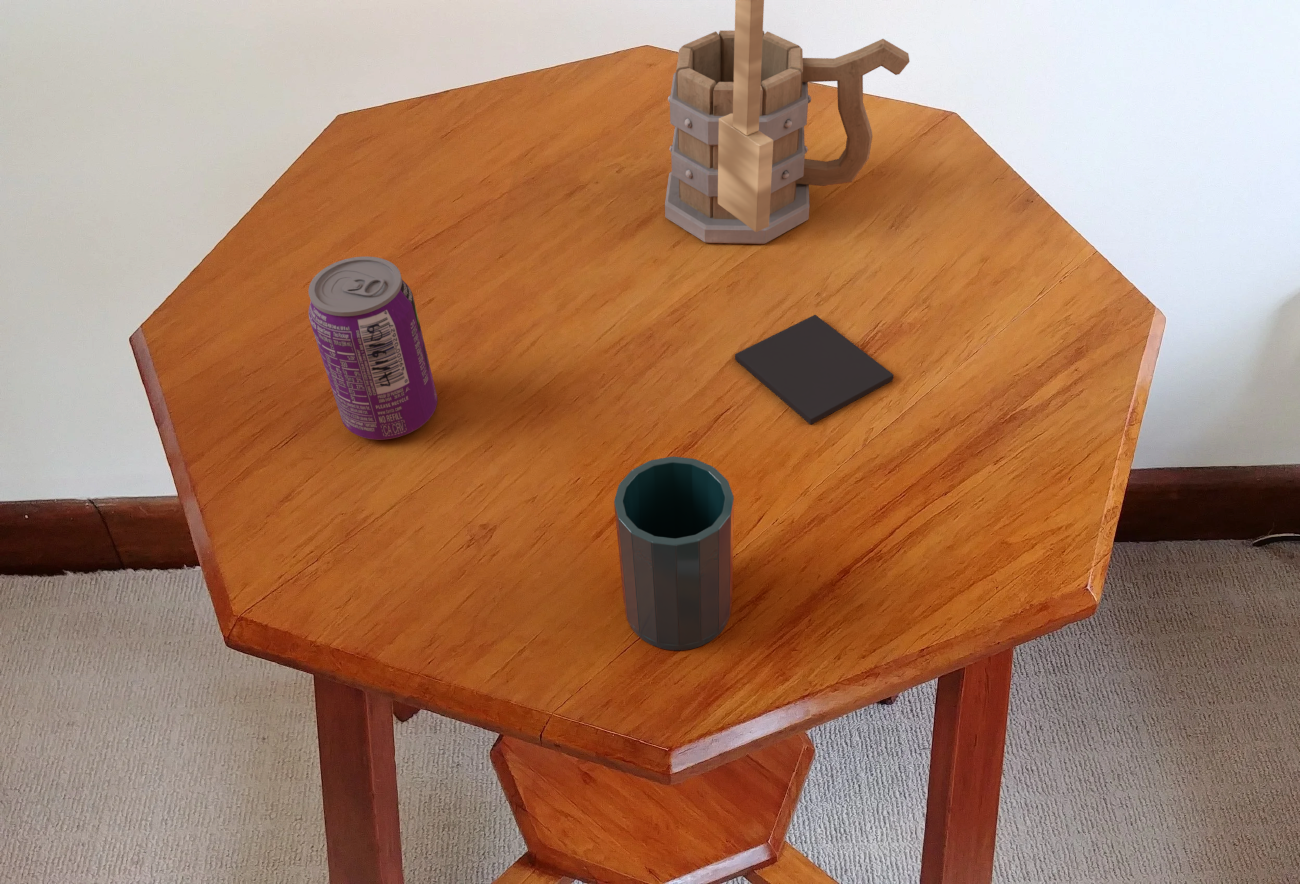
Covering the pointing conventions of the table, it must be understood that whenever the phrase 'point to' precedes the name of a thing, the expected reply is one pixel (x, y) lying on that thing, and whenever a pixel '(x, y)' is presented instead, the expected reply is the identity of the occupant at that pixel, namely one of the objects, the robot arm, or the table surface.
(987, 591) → the table surface
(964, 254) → the table surface
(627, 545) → the cup
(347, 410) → the beverage can
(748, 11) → the wooden stir stick
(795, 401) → the mat
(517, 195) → the table surface
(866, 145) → the tankard
